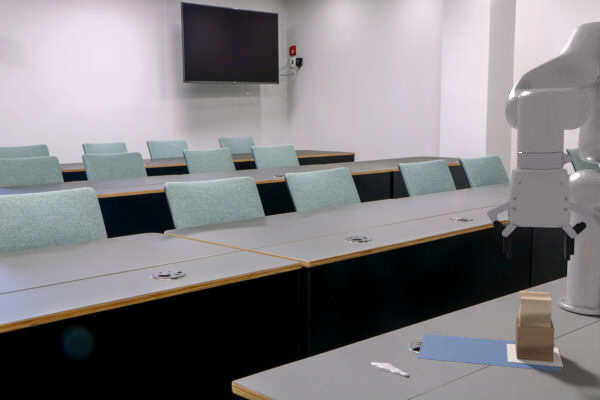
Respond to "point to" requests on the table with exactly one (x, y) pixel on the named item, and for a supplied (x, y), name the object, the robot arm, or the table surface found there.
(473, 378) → the table surface
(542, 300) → the maple cube
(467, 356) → the board
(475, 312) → the table surface
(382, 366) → the stylus pen
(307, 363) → the table surface
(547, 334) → the walnut cube
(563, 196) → the robot arm
